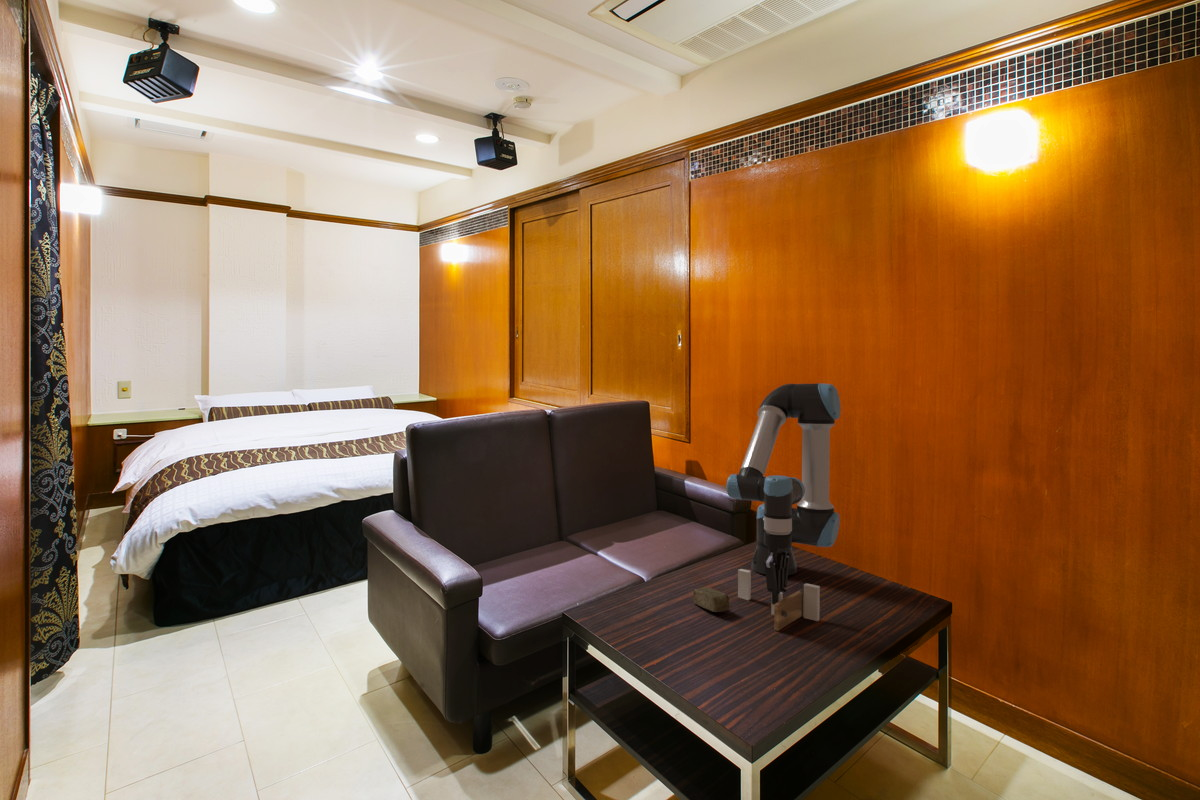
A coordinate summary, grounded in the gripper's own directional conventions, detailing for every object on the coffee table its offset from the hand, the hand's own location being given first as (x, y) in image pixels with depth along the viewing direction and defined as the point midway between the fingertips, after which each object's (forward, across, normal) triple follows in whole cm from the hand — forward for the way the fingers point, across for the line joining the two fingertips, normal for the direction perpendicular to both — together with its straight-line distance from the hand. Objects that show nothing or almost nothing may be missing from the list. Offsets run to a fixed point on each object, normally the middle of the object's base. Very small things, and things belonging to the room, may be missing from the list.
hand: (776, 614), depth 164 cm
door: (+3, -11, +2) cm, 11 cm away
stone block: (+4, +4, -16) cm, 17 cm away
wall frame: (+3, -11, -6) cm, 12 cm away
